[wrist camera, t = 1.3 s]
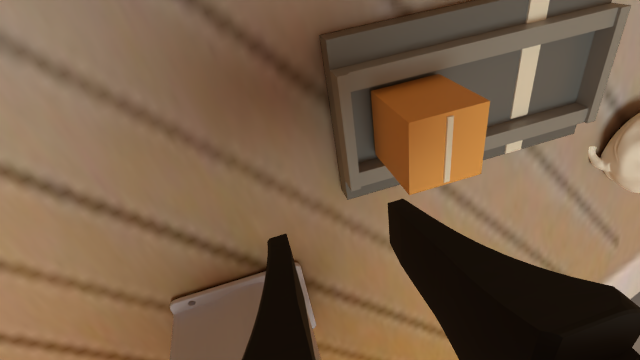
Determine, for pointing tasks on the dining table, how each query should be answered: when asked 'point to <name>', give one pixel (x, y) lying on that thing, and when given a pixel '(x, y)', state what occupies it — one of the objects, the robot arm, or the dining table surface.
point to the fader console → (475, 72)
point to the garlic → (622, 156)
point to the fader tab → (429, 131)
